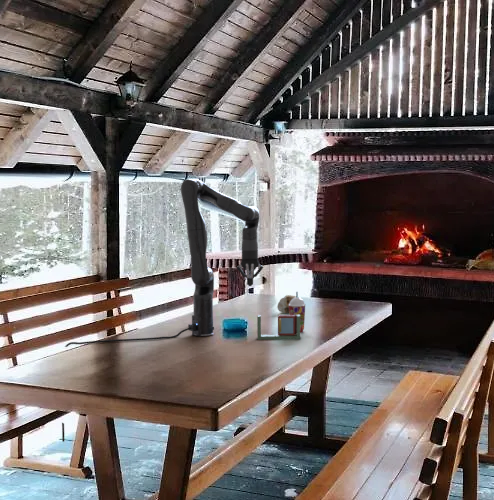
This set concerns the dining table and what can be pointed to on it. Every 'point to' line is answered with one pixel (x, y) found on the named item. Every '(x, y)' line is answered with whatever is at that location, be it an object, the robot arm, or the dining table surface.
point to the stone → (285, 303)
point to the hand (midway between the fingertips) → (250, 285)
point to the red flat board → (286, 325)
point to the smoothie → (298, 309)
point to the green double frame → (278, 337)
